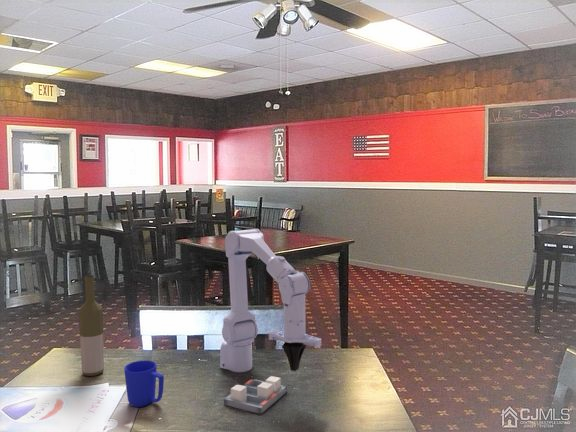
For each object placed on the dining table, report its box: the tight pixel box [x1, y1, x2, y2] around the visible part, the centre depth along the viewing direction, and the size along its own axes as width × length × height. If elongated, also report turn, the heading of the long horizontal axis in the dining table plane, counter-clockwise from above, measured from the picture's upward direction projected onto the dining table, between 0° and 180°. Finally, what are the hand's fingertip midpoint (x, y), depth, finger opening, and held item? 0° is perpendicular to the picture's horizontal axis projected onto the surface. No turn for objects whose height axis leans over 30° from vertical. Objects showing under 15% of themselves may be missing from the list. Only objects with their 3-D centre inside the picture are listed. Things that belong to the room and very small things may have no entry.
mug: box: [123, 360, 165, 408], centre depth 131 cm, size 8×12×10 cm
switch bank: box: [223, 378, 288, 414], centre depth 132 cm, size 11×14×3 cm
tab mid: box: [257, 381, 273, 399], centre depth 131 cm, size 3×3×4 cm
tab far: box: [265, 375, 282, 392], centre depth 135 cm, size 3×3×4 cm
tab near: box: [230, 384, 247, 402], centre depth 129 cm, size 3×3×4 cm
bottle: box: [78, 274, 105, 377], centre depth 150 cm, size 7×7×30 cm
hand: (294, 369), depth 131 cm, fingers closed
